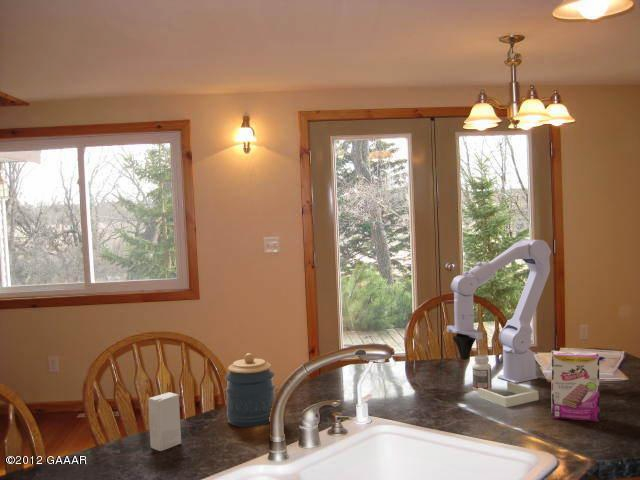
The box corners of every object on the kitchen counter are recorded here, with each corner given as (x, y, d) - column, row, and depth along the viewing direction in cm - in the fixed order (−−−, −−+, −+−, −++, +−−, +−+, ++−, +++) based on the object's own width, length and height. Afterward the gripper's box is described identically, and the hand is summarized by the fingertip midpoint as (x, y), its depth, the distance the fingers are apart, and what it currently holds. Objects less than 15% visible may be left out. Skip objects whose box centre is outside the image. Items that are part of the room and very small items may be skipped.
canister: (236, 431, 152) (233, 361, 151) (220, 417, 163) (217, 352, 163) (284, 421, 158) (281, 354, 157) (265, 408, 169) (262, 345, 169)
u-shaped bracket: (509, 390, 178) (509, 381, 178) (538, 400, 168) (538, 391, 168) (477, 397, 173) (477, 388, 173) (505, 407, 163) (505, 398, 163)
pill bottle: (480, 385, 184) (479, 353, 183) (495, 389, 180) (494, 356, 179) (469, 389, 180) (468, 356, 180) (484, 393, 176) (483, 359, 176)
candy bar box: (552, 419, 153) (550, 354, 152) (551, 412, 158) (550, 350, 157) (600, 422, 149) (599, 356, 149) (598, 416, 154) (597, 352, 153)
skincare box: (171, 440, 148) (168, 391, 147) (182, 444, 145) (180, 394, 144) (149, 448, 143) (146, 397, 142) (160, 452, 140) (158, 400, 139)
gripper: (438, 313, 191) (439, 355, 191) (469, 319, 178) (470, 365, 178) (456, 310, 194) (457, 353, 194) (488, 317, 181) (488, 362, 181)
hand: (464, 358), depth 186 cm, fingers closed
